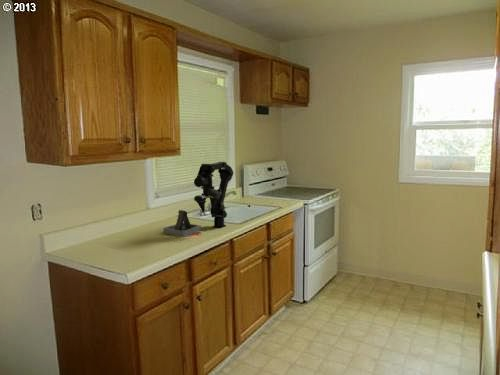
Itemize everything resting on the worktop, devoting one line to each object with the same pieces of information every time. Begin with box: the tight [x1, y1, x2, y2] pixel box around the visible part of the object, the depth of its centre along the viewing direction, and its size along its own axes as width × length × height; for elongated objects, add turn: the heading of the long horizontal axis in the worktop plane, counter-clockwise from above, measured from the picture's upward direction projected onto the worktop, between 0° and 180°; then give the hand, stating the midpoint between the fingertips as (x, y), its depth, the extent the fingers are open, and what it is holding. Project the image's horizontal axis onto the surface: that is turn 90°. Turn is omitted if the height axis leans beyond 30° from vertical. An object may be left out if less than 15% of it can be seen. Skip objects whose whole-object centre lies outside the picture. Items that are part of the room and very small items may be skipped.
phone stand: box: [175, 209, 192, 231], centre depth 222 cm, size 9×6×12 cm, turn 125°
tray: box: [162, 222, 202, 237], centre depth 223 cm, size 16×16×3 cm
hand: (208, 210), depth 220 cm, fingers open, 9 cm apart
